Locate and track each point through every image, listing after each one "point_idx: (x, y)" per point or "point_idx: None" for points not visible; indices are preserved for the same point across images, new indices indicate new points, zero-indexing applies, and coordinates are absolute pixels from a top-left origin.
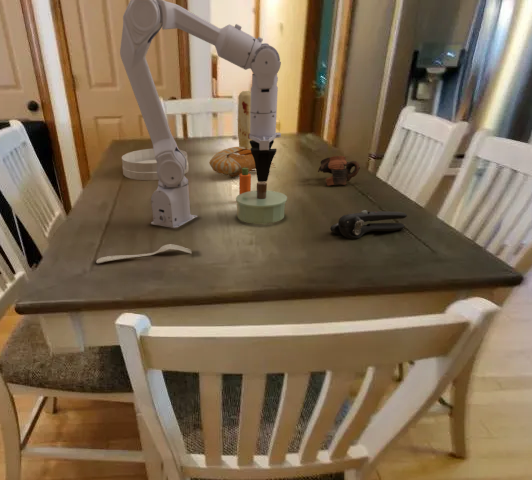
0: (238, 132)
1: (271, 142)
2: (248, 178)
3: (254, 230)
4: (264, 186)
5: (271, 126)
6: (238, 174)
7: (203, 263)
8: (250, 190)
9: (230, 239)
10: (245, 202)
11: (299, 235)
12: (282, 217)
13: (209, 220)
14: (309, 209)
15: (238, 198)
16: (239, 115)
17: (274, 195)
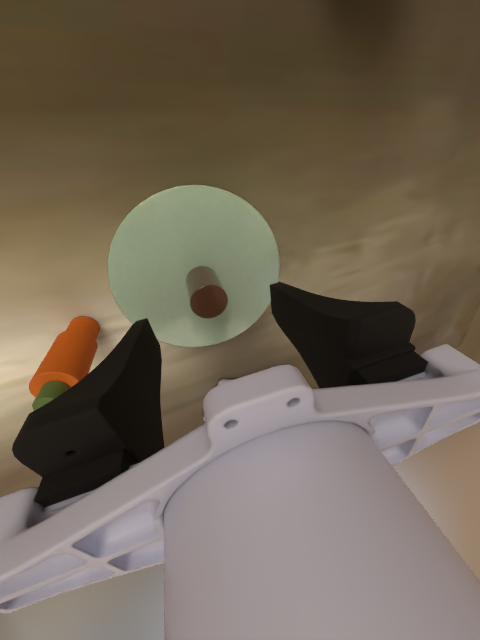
0: None
1: (108, 408)
2: (71, 367)
3: (283, 256)
4: (221, 286)
5: (430, 519)
6: None
7: (409, 302)
8: (68, 336)
9: (328, 291)
10: (252, 312)
11: (323, 121)
12: None
13: (229, 357)
14: (39, 69)
15: (219, 337)
16: None
17: (168, 241)
